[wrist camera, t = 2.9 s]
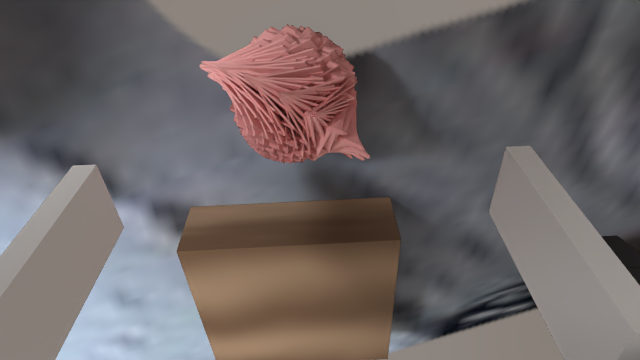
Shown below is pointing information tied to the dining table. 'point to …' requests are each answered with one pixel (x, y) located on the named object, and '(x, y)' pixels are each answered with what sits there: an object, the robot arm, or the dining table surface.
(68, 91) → the dining table surface
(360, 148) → the flower
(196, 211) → the walnut base
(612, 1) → the dining table surface
